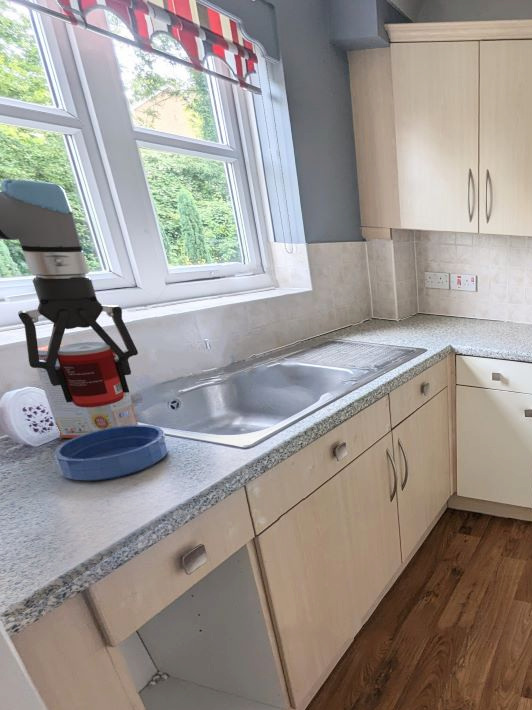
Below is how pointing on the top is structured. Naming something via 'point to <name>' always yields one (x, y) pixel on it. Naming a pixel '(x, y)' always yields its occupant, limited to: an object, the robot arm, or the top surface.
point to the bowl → (111, 452)
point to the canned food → (90, 374)
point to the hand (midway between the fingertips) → (98, 395)
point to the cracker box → (83, 409)
